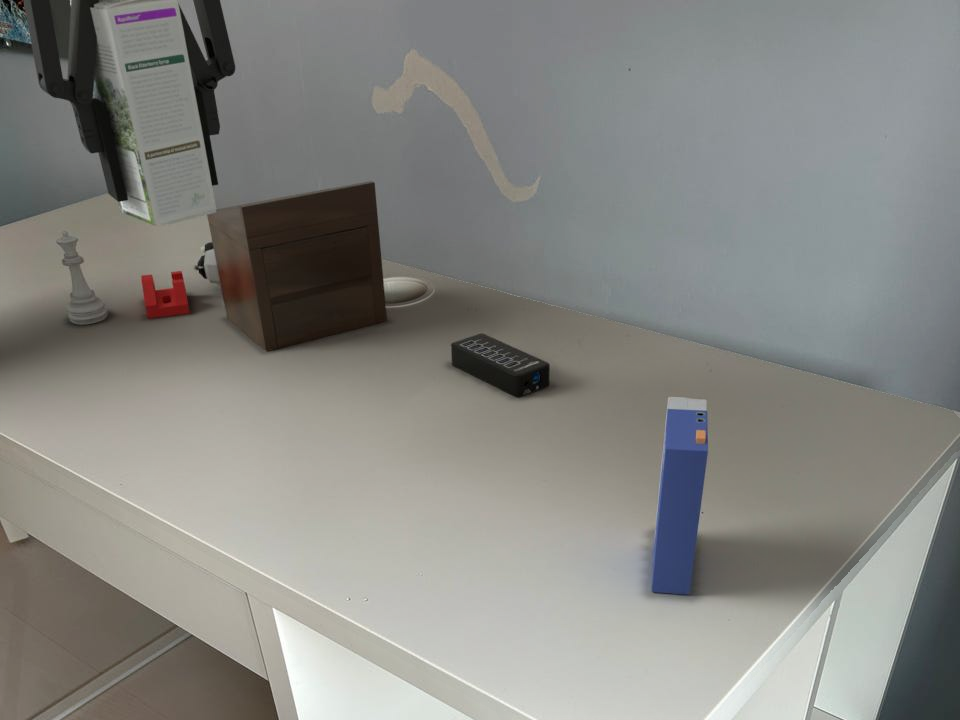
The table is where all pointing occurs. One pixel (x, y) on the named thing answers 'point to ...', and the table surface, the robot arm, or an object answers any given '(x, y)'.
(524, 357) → the multiport hub
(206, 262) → the robot toy
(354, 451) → the table surface
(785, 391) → the table surface
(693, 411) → the walkman
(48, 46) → the robot arm
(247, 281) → the wooden drawer cabinet
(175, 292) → the bracket
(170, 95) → the syrup box
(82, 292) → the chess piece
